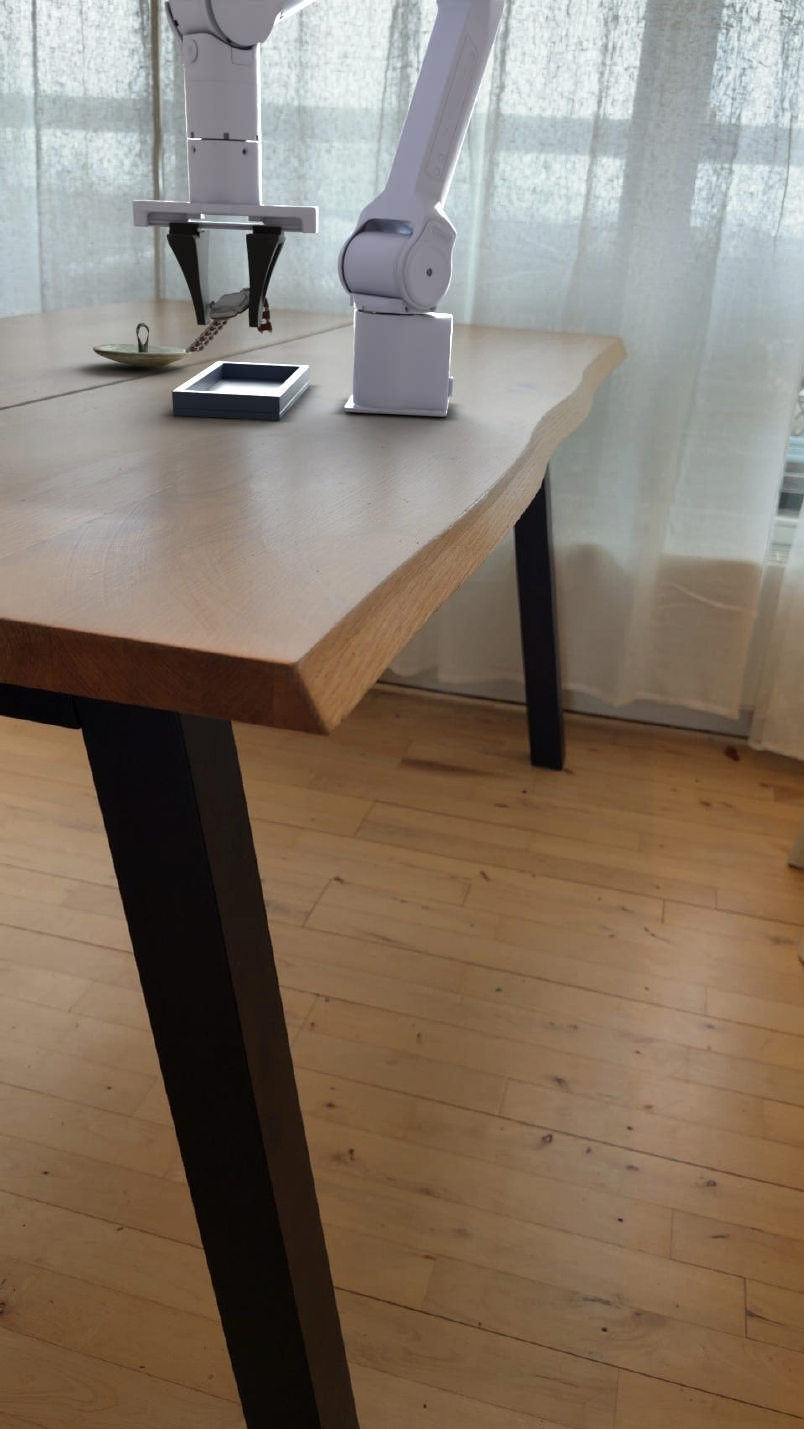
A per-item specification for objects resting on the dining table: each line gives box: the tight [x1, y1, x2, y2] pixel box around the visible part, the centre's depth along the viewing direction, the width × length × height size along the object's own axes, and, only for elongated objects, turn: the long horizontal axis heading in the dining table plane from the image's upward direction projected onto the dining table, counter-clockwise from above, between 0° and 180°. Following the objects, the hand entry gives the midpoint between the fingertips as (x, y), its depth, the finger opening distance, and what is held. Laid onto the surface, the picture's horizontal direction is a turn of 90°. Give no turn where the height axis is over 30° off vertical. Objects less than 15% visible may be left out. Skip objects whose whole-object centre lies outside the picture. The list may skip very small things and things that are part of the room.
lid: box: [92, 322, 192, 368], centre depth 126 cm, size 11×10×5 cm
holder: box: [171, 361, 310, 421], centre depth 110 cm, size 20×10×2 cm, turn 177°
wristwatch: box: [185, 286, 273, 353], centre depth 95 cm, size 4×14×5 cm, turn 163°
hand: (229, 325), depth 95 cm, fingers closed on wristwatch, 4 cm apart
